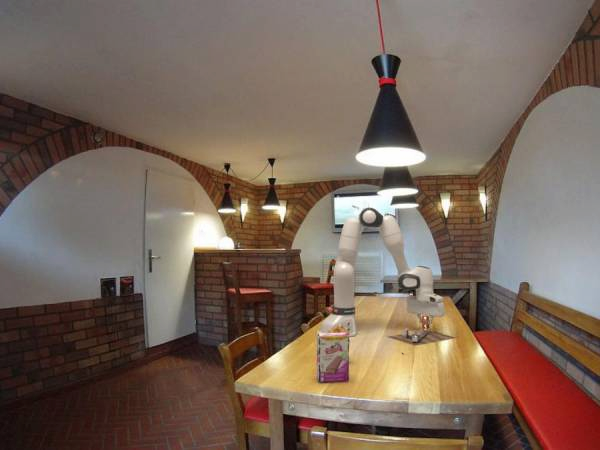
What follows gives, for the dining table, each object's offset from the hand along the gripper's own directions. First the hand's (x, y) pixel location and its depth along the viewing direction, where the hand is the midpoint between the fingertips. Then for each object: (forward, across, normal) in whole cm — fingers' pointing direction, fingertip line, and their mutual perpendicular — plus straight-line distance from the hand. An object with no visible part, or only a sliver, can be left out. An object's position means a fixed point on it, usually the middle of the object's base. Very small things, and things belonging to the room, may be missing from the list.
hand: (425, 323), depth 196 cm
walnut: (+5, 0, -15) cm, 16 cm away
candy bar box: (+7, +6, -82) cm, 83 cm away
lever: (+5, +3, -10) cm, 11 cm away
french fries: (+6, -6, -65) cm, 66 cm away
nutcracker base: (+7, +2, -9) cm, 11 cm away
